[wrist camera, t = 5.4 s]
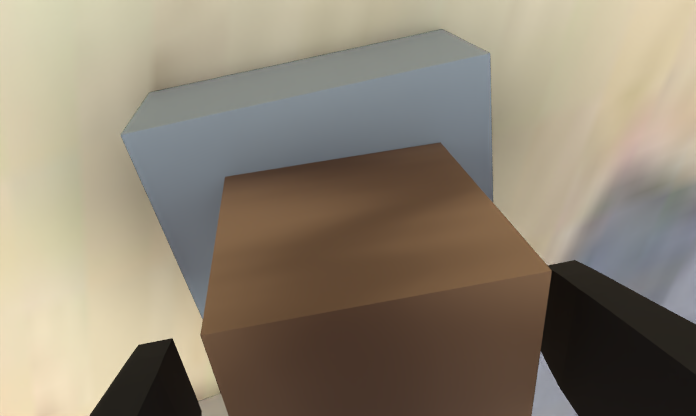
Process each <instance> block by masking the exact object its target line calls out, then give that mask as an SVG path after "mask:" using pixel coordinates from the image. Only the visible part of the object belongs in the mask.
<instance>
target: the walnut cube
mask: <svg viewBox="0 0 696 416" xmlns="http://www.w3.org/2000/svg"><path fill="white" fill-rule="evenodd" d="M551 273H552V270H551V269H550V268H549V267H548V266H547V265H546V263H545V262H544V261H543V260H542V259H541V258H540V257H539V255H538V254H537V253H536V252H535V251H534V250H533V248H532V247H531V246H530V245H529V244H528V243H527V242H526V240H525V239H524V238H523V237H522V236H521V235H520V233H519V232H518V231H517V230H516V229H515V228H514V227H513V225H512V224H511V223H510V222H509V221H508V220H507V218H506V217H505V216H504V215H503V214H502V213H501V212H500V210H499V209H498V208H497V207H496V206H495V205H494V203H493V202H492V201H491V200H490V199H489V198H488V197H487V195H486V194H485V193H484V192H483V191H482V190H481V188H480V187H479V186H478V185H477V184H476V183H475V182H474V180H473V179H472V178H471V177H470V176H469V175H468V174H467V172H466V171H465V170H464V169H463V168H462V167H461V165H460V164H459V163H458V162H457V161H456V160H455V159H454V157H453V156H452V155H451V154H450V153H449V152H448V150H447V149H446V148H445V147H444V146H443V145H442V144H441V142H440V143H434V144H427V145H421V146H415V147H408V148H402V149H396V150H389V151H383V152H377V153H370V154H364V155H358V156H351V157H345V158H339V159H332V160H326V161H320V162H313V163H307V164H301V165H295V166H289V167H282V168H276V169H270V170H264V171H258V172H251V173H245V174H239V175H233V176H227V177H225V180H224V186H223V193H222V199H221V206H220V212H219V219H218V225H217V232H216V238H215V245H214V251H213V258H212V264H211V271H210V277H209V284H208V290H207V297H206V303H205V309H204V316H203V322H202V329H201V335H200V336H201V338H202V341H203V344H204V347H205V350H206V353H207V355H208V358H209V361H210V364H211V367H212V370H213V373H214V375H215V378H216V381H217V384H218V387H219V390H220V393H221V395H222V398H223V401H224V404H225V407H226V410H227V412H228V415H229V416H531V414H532V407H533V400H534V393H535V386H536V379H537V372H538V365H539V358H540V351H541V344H542V337H543V329H544V322H545V315H546V308H547V301H548V294H549V287H550V280H551Z"/></svg>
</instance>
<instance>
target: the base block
mask: <svg viewBox="0 0 696 416" xmlns="http://www.w3.org/2000/svg"><path fill="white" fill-rule="evenodd" d="M121 137H122V140H123V142H124V144H125V146H126V148H127V151H128V153H129V155H130V157H131V160H132V162H133V164H134V166H135V169H136V171H137V173H138V175H139V178H140V180H141V182H142V184H143V187H144V189H145V191H146V193H147V196H148V198H149V200H150V202H151V205H152V207H153V209H154V211H155V214H156V216H157V218H158V220H159V223H160V225H161V227H162V229H163V231H164V234H165V236H166V238H167V240H168V243H169V245H170V247H171V249H172V252H173V254H174V256H175V258H176V261H177V263H178V265H179V267H180V270H181V272H182V274H183V276H184V279H185V281H186V283H187V285H188V288H189V290H190V292H191V294H192V297H193V299H194V301H195V303H196V305H197V308H198V310H199V312H200V314H201V317H202V319H203V316H204V309H205V303H206V297H207V290H208V284H209V277H210V271H211V264H212V258H213V251H214V245H215V238H216V232H217V225H218V219H219V212H220V206H221V199H222V193H223V186H224V180H225V177H227V176H233V175H239V174H245V173H251V172H258V171H264V170H270V169H276V168H282V167H289V166H295V165H301V164H307V163H313V162H320V161H326V160H332V159H339V158H345V157H351V156H358V155H364V154H370V153H377V152H383V151H389V150H396V149H402V148H408V147H415V146H421V145H427V144H434V143H440V142H441V144H442V145H443V146H444V147H445V148H446V149H447V150H448V152H449V153H450V154H451V155H452V156H453V157H454V159H455V160H456V161H457V162H458V163H459V164H460V165H461V167H462V168H463V169H464V170H465V171H466V172H467V174H468V175H469V176H470V177H471V178H472V179H473V180H474V182H475V183H476V184H477V185H478V186H479V187H480V188H481V190H482V191H483V192H484V193H485V194H486V195H487V197H488V198H489V199H490V200H491V201H492V202H493V175H492V121H491V68H490V53H489V52H487V51H485V50H483V49H481V48H479V47H477V46H475V45H473V44H471V43H469V42H467V41H465V40H463V39H461V38H459V37H457V36H455V35H453V34H451V33H449V32H447V31H445V30H443V29H440V30H436V31H431V32H426V33H422V34H417V35H413V36H408V37H403V38H399V39H394V40H389V41H385V42H380V43H376V44H371V45H366V46H362V47H357V48H352V49H348V50H343V51H339V52H334V53H329V54H325V55H320V56H315V57H311V58H306V59H302V60H297V61H292V62H288V63H283V64H279V65H274V66H269V67H265V68H260V69H255V70H251V71H246V72H242V73H237V74H232V75H228V76H223V77H218V78H214V79H209V80H205V81H200V82H195V83H191V84H186V85H181V86H177V87H172V88H168V89H163V90H158V91H154V92H149V94H148V95H147V97H146V98H145V100H144V101H143V103H142V104H141V105H140V107H139V108H138V110H137V111H136V113H135V114H134V116H133V117H132V119H131V120H130V122H129V123H128V125H127V126H126V127H125V129H124V130H123V132H122V133H121Z"/></svg>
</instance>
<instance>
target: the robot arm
mask: <svg viewBox="0 0 696 416" xmlns="http://www.w3.org/2000/svg"><path fill="white" fill-rule="evenodd" d="M548 267H549V268H550V269H551V270H552V273H551V280H550V287H549V294H548V301H547V308H546V315H545V322H544V329H543V337H542V344H541V352H542V354H543V356H544V358H545V360H546V362H547V364H548V366H549V368H550V370H551V372H552V374H553V376H554V378H555V380H556V381H557V383H558V385H559V387H560V389H561V390H562V392H563V393H564V395H565V396H566V398H567V399H568V401H569V402H570V404H571V405H572V407H573V408H574V410H575V411H576V413H577V414H578V416H696V324H694V323H692V322H690V321H688V320H686V319H685V318H683V317H681V316H679V315H677V314H675V313H673V312H671V311H669V310H668V309H666V308H664V307H662V306H660V305H658V304H656V303H655V302H653V301H651V300H649V299H647V298H645V297H644V296H642V295H640V294H638V293H636V292H634V291H633V290H631V289H629V288H627V287H625V286H623V285H622V284H620V283H618V282H616V281H614V280H612V279H610V278H609V277H607V276H605V275H603V274H601V273H599V272H597V271H596V270H594V269H592V268H590V267H588V266H586V265H584V264H582V263H580V262H578V261H576V260H574V261H569V262H563V263H558V264H553V265H548ZM90 416H202V410H201V408H200V405H199V403H198V400H197V398H196V395H195V393H194V390H193V388H192V386H191V383H190V381H189V378H188V376H187V373H186V371H185V368H184V366H183V363H182V361H181V358H180V356H179V353H178V351H177V348H176V346H175V343H174V341H173V339H167V340H162V341H156V342H151V343H146V344H141V345H138V346H137V348H136V349H135V350H134V352H133V353H132V355H131V356H130V358H129V359H128V360H127V362H126V363H125V365H124V366H123V368H122V369H121V370H120V372H119V373H118V375H117V376H116V378H115V379H114V381H113V382H112V384H111V385H110V387H109V388H108V390H107V391H106V392H105V394H104V395H103V397H102V398H101V400H100V401H99V403H98V404H97V405H96V407H95V408H94V410H93V411H92V413H91V414H90Z"/></svg>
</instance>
